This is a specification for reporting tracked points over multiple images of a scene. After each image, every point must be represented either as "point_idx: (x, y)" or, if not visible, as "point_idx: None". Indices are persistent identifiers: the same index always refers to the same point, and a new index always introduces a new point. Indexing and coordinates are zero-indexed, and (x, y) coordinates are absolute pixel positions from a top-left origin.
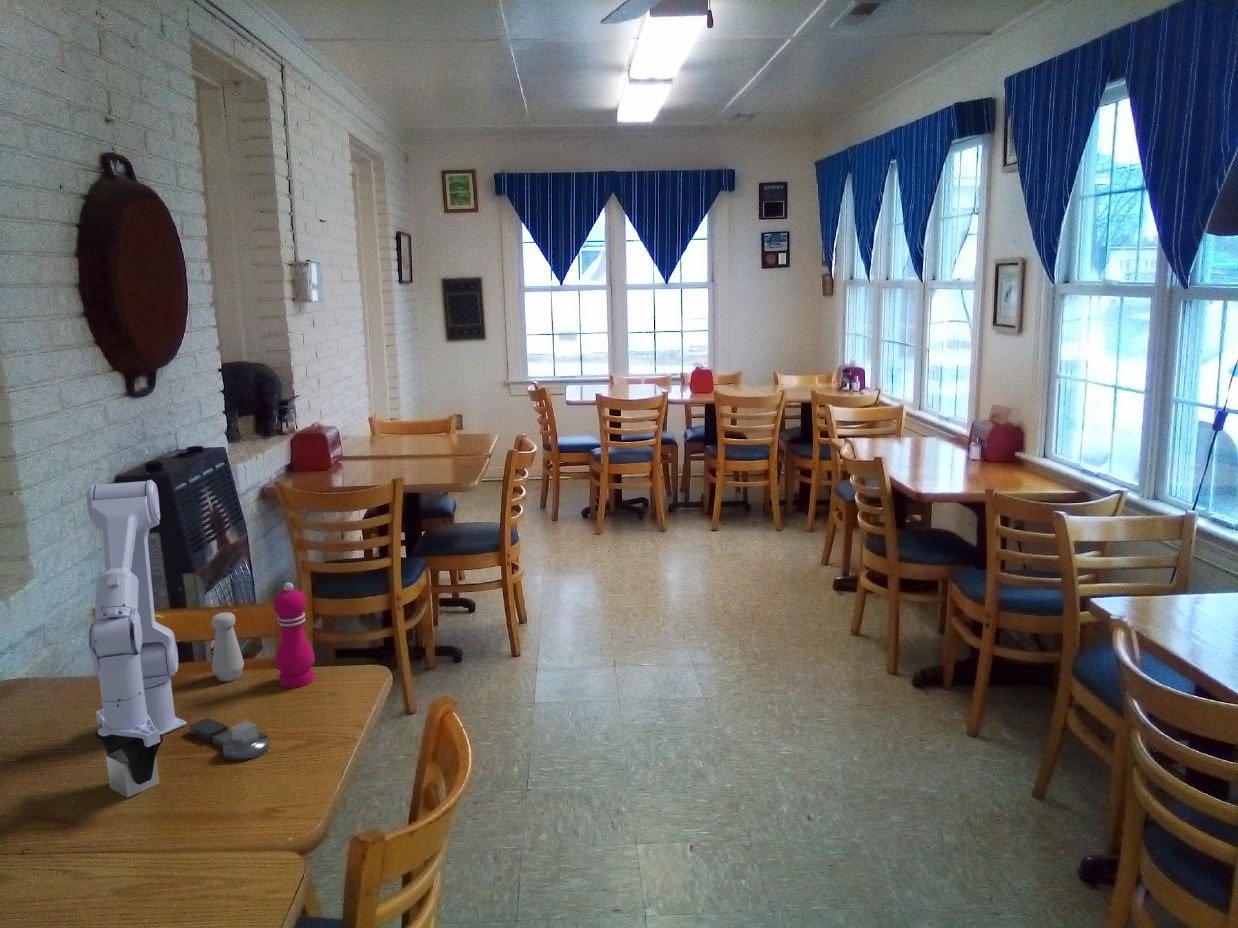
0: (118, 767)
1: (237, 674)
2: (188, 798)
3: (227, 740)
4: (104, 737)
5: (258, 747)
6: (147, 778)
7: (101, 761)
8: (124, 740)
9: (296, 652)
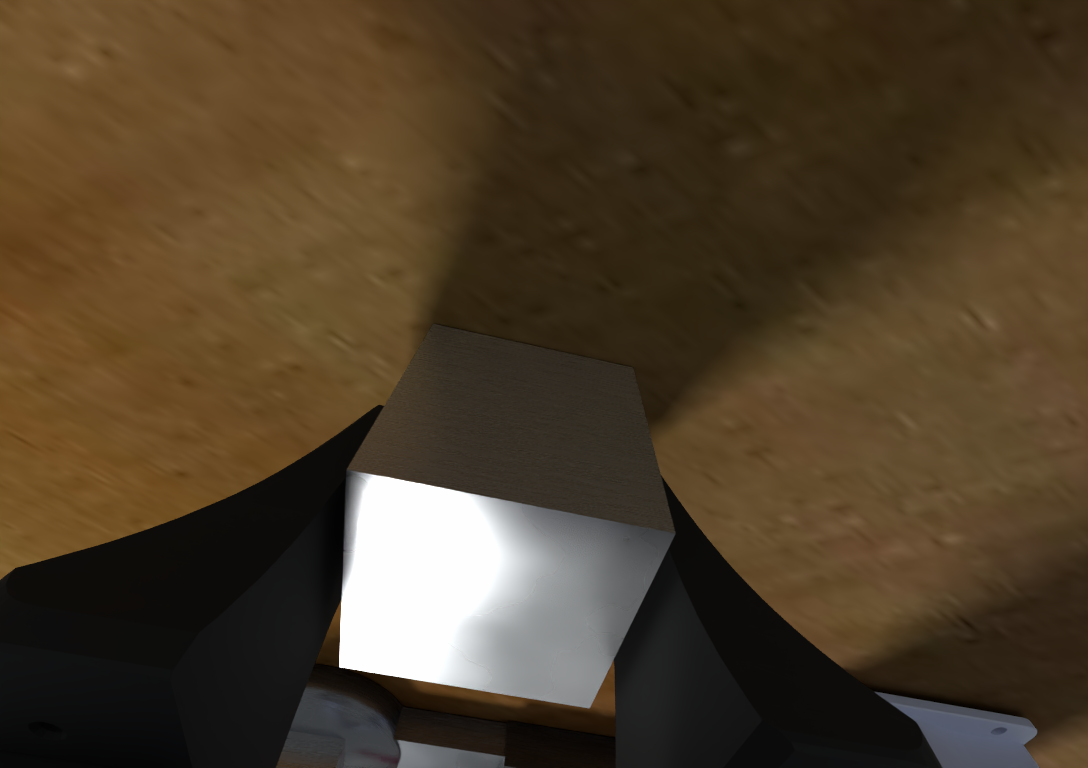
0: (466, 449)
1: None
2: (127, 420)
3: (407, 747)
4: (742, 744)
5: None
6: None
7: (905, 538)
8: (637, 711)
9: None
